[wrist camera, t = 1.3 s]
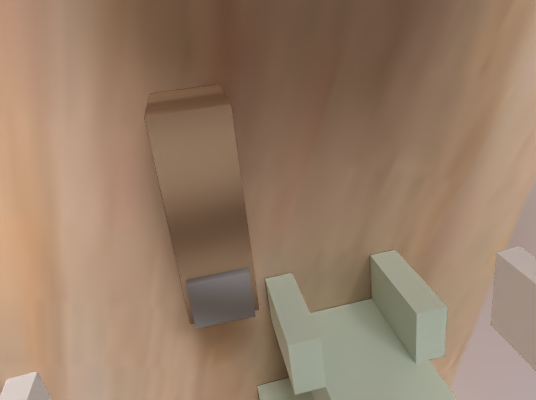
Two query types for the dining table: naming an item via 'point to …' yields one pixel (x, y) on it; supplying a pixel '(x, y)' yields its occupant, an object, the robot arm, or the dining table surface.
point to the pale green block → (361, 340)
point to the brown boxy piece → (203, 202)
